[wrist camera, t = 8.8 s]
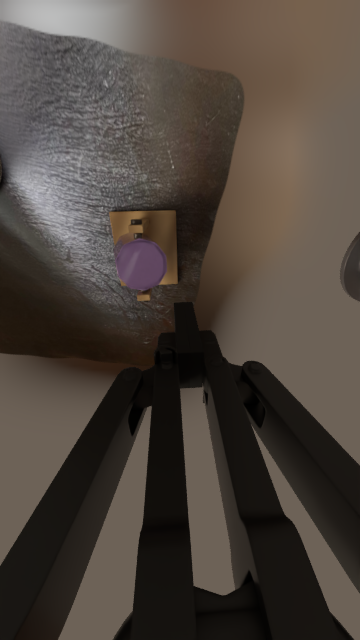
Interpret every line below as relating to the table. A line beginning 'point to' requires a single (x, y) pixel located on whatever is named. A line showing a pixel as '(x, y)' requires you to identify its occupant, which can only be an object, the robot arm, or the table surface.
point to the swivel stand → (155, 227)
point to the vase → (0, 170)
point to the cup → (139, 261)
